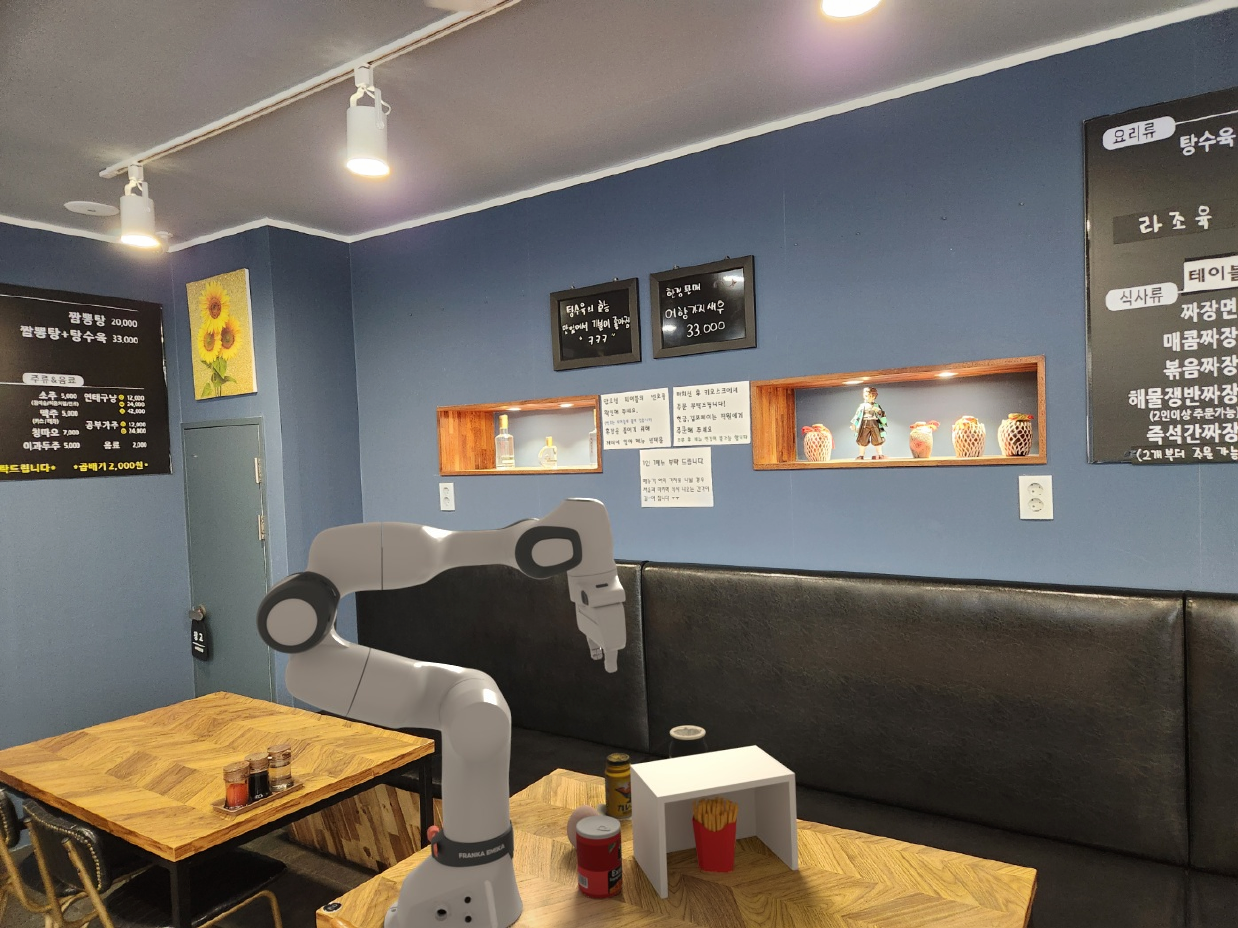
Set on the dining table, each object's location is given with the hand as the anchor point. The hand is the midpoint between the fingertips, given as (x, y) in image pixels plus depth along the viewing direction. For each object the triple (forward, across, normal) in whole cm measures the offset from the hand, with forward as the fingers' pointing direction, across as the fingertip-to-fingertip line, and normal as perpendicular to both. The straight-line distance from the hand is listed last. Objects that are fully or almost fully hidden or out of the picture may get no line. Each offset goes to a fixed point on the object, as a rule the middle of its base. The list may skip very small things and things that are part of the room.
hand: (604, 664), depth 133 cm
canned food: (+39, 0, -6) cm, 39 cm away
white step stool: (+41, 0, +16) cm, 44 cm away
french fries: (+41, +1, +16) cm, 44 cm away
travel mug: (+41, -19, +19) cm, 49 cm away
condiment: (+40, -27, +5) cm, 48 cm away
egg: (+39, -14, -5) cm, 42 cm away
